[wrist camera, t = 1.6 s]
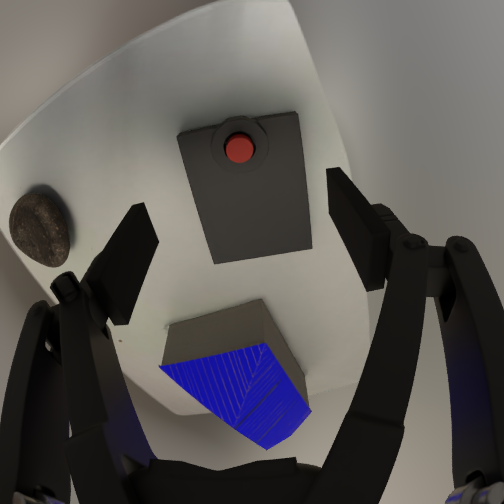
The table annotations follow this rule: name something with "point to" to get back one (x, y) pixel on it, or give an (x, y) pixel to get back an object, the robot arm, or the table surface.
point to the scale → (250, 187)
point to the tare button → (239, 148)
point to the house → (240, 371)
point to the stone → (39, 230)
